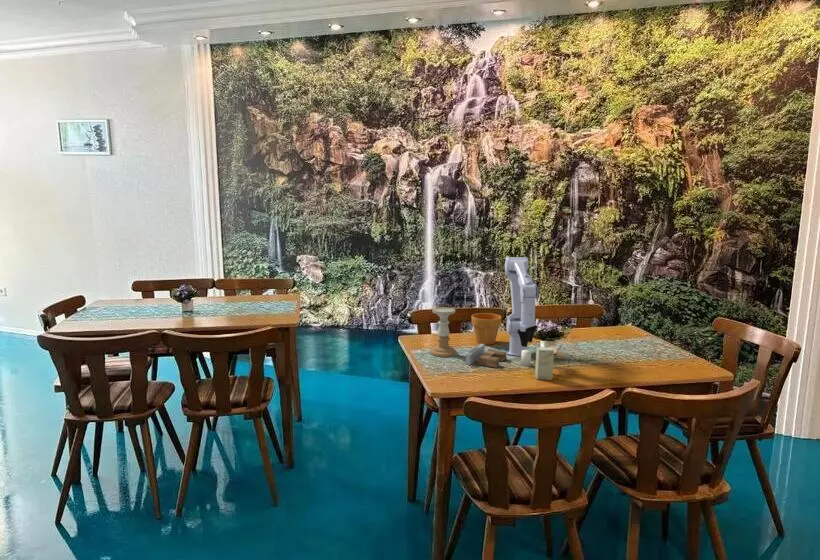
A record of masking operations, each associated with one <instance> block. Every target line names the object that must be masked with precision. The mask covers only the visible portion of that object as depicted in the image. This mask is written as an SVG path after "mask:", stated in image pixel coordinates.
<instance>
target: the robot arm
mask: <svg viewBox="0 0 820 560" xmlns="http://www.w3.org/2000/svg"><path fill="white" fill-rule="evenodd" d="M529 264H530V263H529V258H528V257H527V256H523V257H521V256H519V257H517V256H515V257H513V256H512V257H510V256H507V257H506V258H505V261H504V272H505V273H504V274H505V277H507V278H509V281H510V282H509V284H510V295H511V297H510V299H511V314H509V315H507V318H506V324H505V325H506V328H505V329H506V333H507V334H508V335H509V347H508V348H509V351H508V352H507V351H506V355H507V356H508V355H509V356H516V357H521V355H522V350H528V345H529V344H528V343H532V342H533V339H534V336H535V332H536V330H537V328H538V325H536V323H535V321H536V320H535V317H536V299H538V296H539V295H538V294H539V289H538V285H537V284H536V283H534V281H533V279H532V277H531V275H530V274H528V272H527V271H528V269H529Z"/></svg>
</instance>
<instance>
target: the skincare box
mask: <svg viewBox="0 0 820 560" xmlns="http://www.w3.org/2000/svg"><path fill="white" fill-rule="evenodd" d="M554 355H555V349H554V348H553V347H551V346H550V347H545V346H544V347H541V346H537V347H536V352H535V367H534V368H535V369H534V370H535V371H534V376H535V378H536V380H548V381H549V380H551V381H552V380H553V378H554V377H553V376H554V375H553V374H554V359H555V357H554Z"/></svg>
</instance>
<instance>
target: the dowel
mask: <svg viewBox="0 0 820 560" xmlns="http://www.w3.org/2000/svg"><path fill="white" fill-rule="evenodd" d="M520 357H521V359H520V365H521V366H523V367H531V366H530V365H532V350H530V349H527V350H522V355H521V356H520Z"/></svg>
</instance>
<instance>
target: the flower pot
mask: <svg viewBox="0 0 820 560" xmlns="http://www.w3.org/2000/svg"><path fill="white" fill-rule="evenodd" d="M471 325H473V330H474V335H475V340H476V343H477V344H478V345H479V344H485V345H486V346H487V345H488V346H489V345H493V344H495V343H496V341H497V340H496V339H497V336H498V332H499V328H500V326H501V325H502V316H501V315H500V314H496V313H493V312H478V313H473V314H472V315H471Z"/></svg>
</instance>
